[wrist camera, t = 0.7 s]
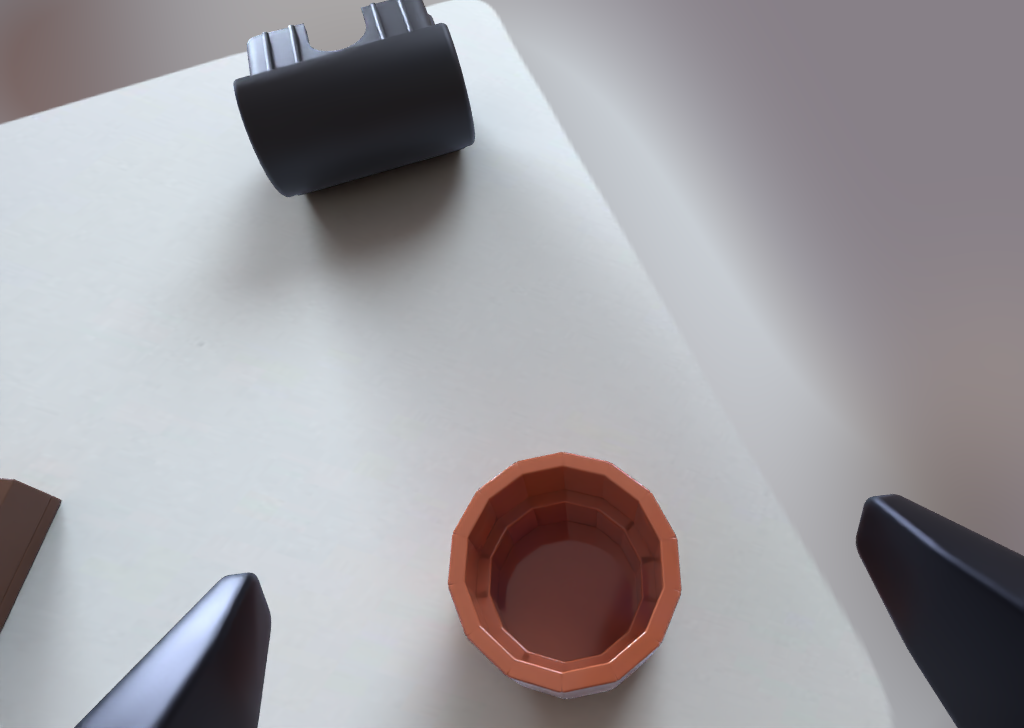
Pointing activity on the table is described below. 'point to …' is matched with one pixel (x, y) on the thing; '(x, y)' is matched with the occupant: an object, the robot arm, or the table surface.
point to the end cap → (354, 100)
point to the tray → (20, 535)
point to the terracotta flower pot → (565, 574)
